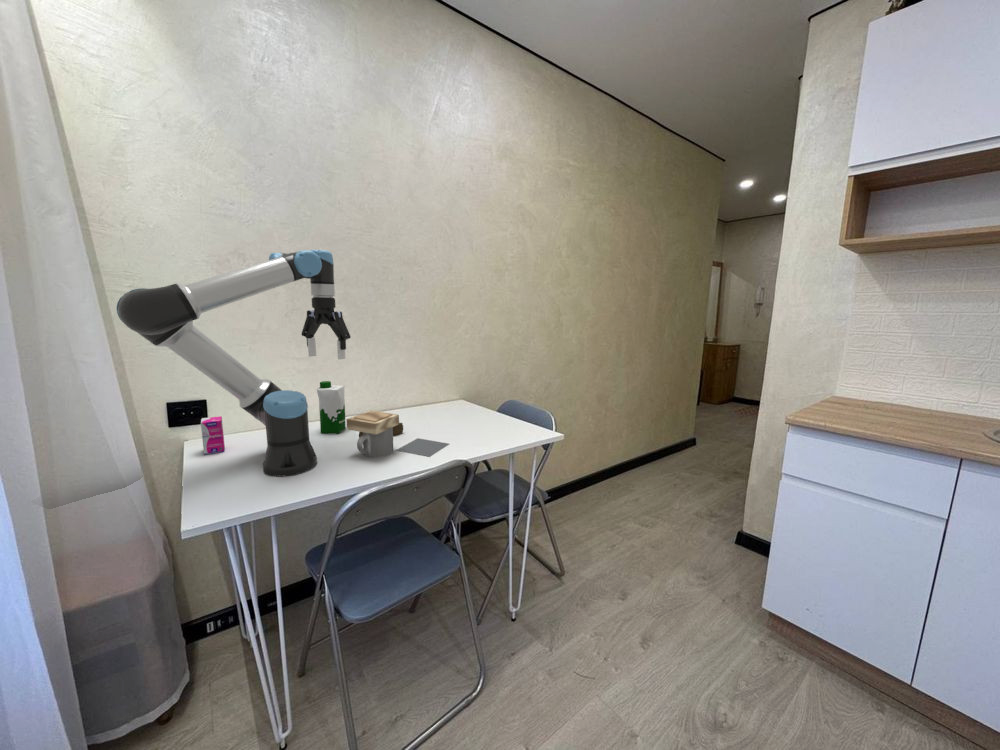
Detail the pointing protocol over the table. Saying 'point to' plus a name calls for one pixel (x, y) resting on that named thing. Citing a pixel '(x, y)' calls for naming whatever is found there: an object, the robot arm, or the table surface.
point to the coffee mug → (376, 443)
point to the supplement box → (212, 435)
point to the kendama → (396, 430)
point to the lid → (372, 422)
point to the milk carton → (331, 407)
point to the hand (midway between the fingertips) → (326, 357)
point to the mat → (423, 447)
